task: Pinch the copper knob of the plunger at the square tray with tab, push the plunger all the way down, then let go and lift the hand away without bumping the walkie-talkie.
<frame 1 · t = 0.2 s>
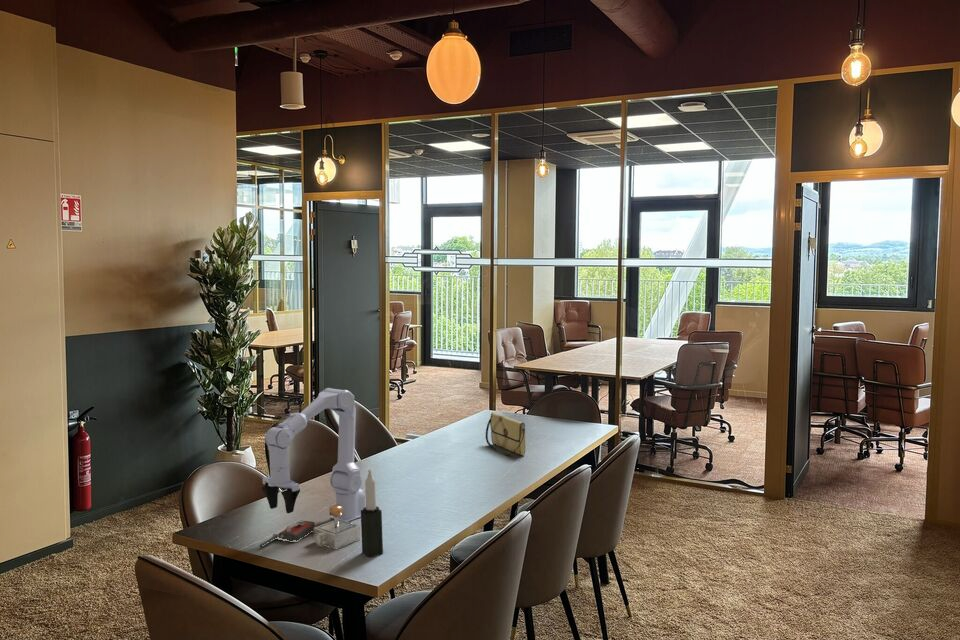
hand: (281, 510, 226), 10 cm above the table, tool pointing down, fingers open, 7 cm apart
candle: (372, 553, 217), on the table
square tray with tab: (337, 541, 227), on the table
walkie-talkie: (289, 540, 230), on the table
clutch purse: (504, 451, 332), on the table
plunger: (336, 517, 226), point 7 cm above the table, slide at 3.5 cm
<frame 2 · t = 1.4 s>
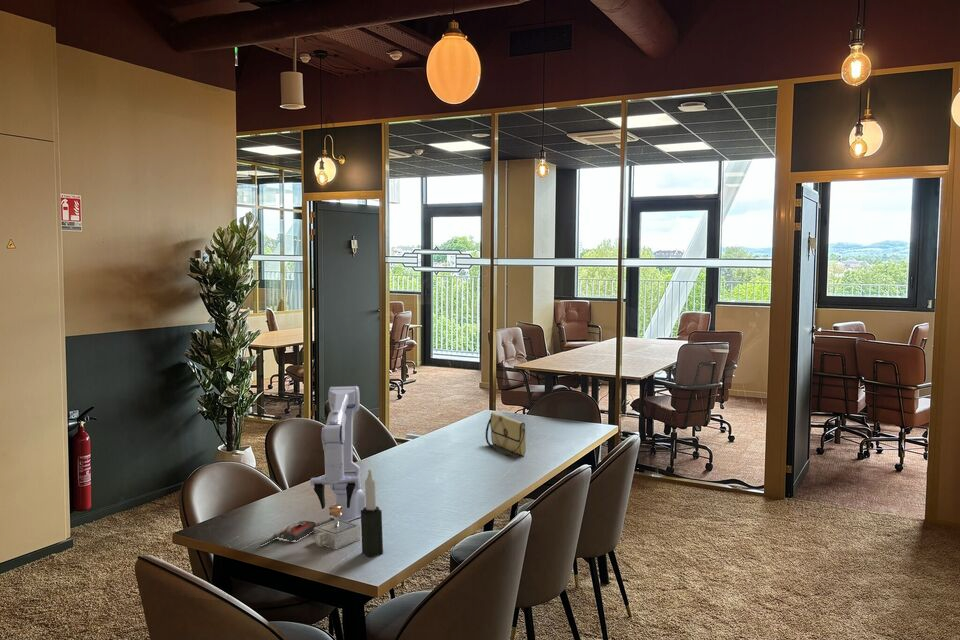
hand: (336, 507, 227), 10 cm above the table, tool pointing down, fingers open, 7 cm apart
nothing on the table moved.
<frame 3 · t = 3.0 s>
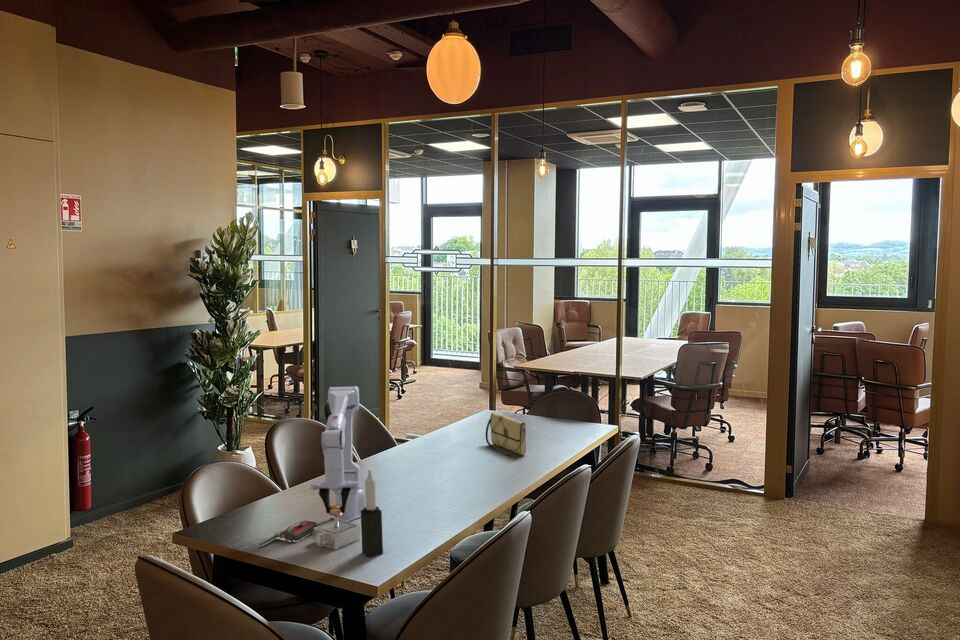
hand: (336, 512, 226), 9 cm above the table, tool pointing down, fingers closed on plunger, 4 cm apart
plunger: (336, 517, 226), point 7 cm above the table, slide at 3.5 cm, touching gripper
everything else where it was.
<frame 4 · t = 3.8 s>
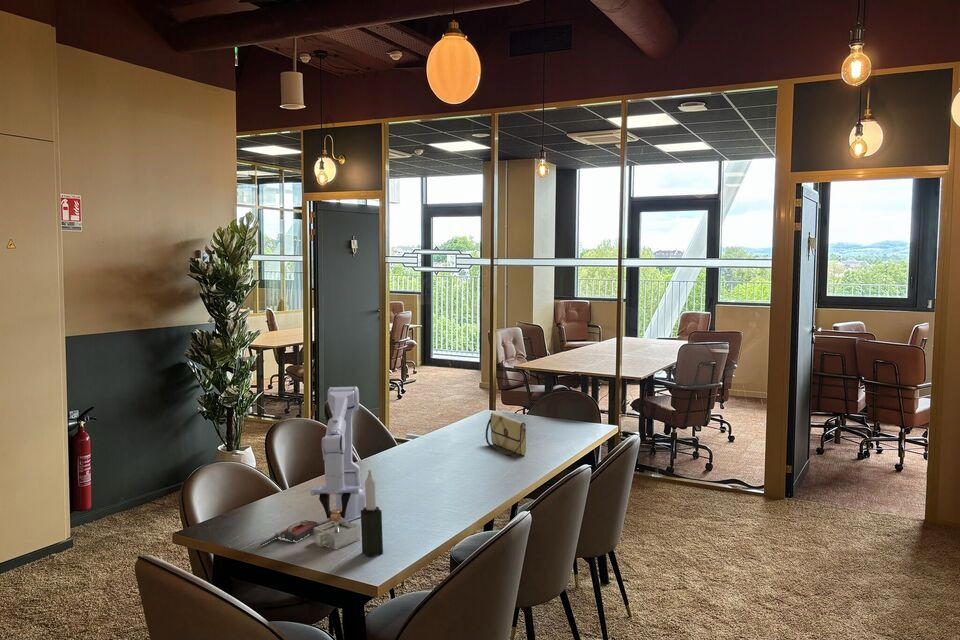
hand: (336, 517, 226), 7 cm above the table, tool pointing down, fingers closed on plunger, 4 cm apart
plunger: (336, 522, 227), point 6 cm above the table, slide at 1.9 cm, touching gripper
everything else where it was.
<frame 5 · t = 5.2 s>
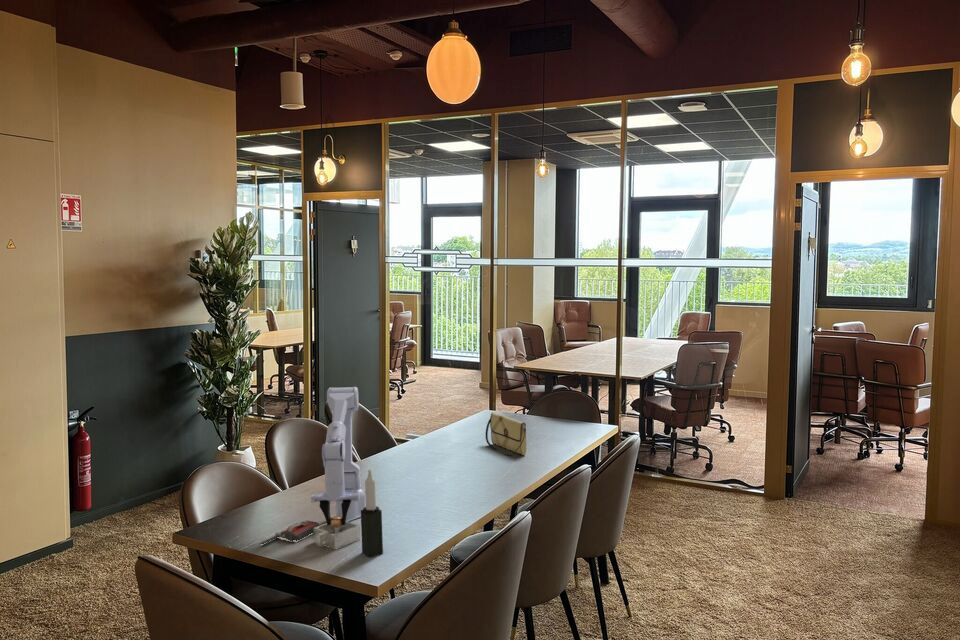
hand: (336, 524, 227), 5 cm above the table, tool pointing down, fingers closed on plunger, 4 cm apart
plunger: (336, 528, 227), point 4 cm above the table, slide at -0.1 cm, touching gripper
everything else where it was.
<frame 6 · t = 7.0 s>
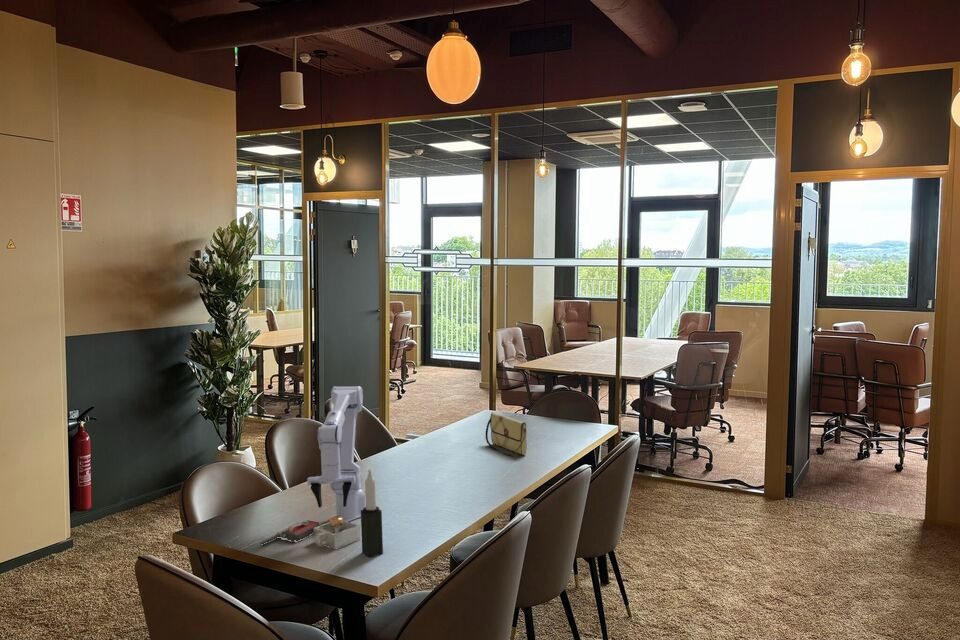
hand: (332, 506, 230), 10 cm above the table, tool pointing down, fingers open, 7 cm apart
plunger: (336, 528, 227), point 4 cm above the table, slide at -0.1 cm
everything else where it was.
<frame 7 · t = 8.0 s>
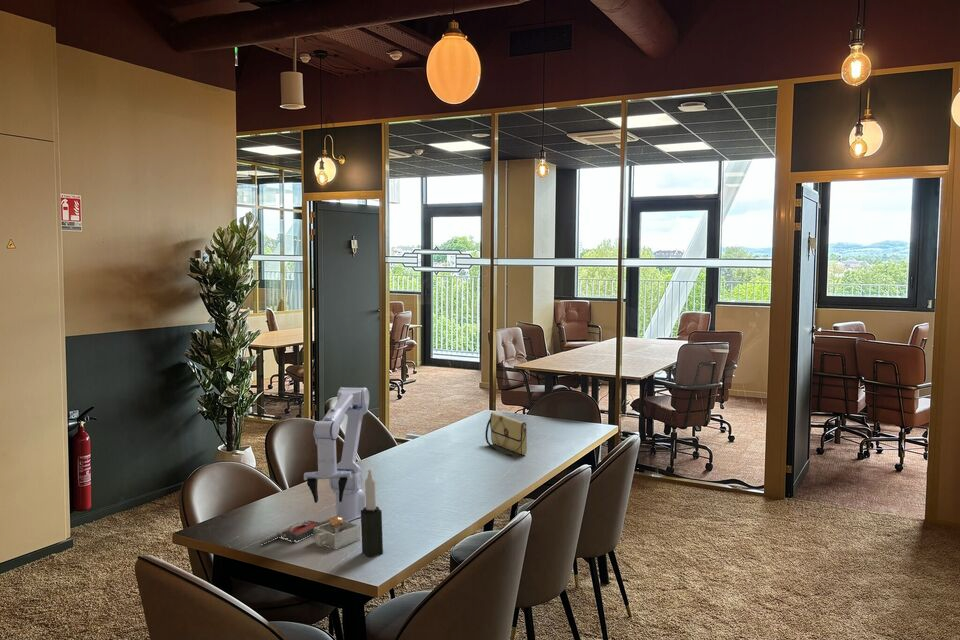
hand: (328, 501, 233), 10 cm above the table, tool pointing down, fingers open, 7 cm apart
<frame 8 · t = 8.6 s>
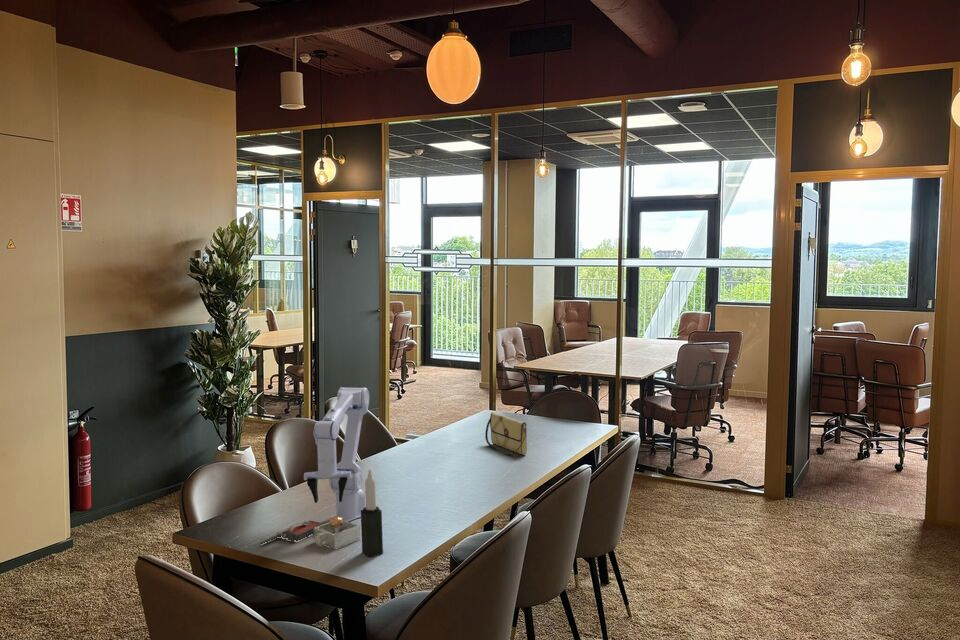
hand: (328, 501, 233), 10 cm above the table, tool pointing down, fingers open, 7 cm apart
at the end: plunger slide at -0.1 cm; the gripper is holding nothing; walkie-talkie moved 1.3 cm from its start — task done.
